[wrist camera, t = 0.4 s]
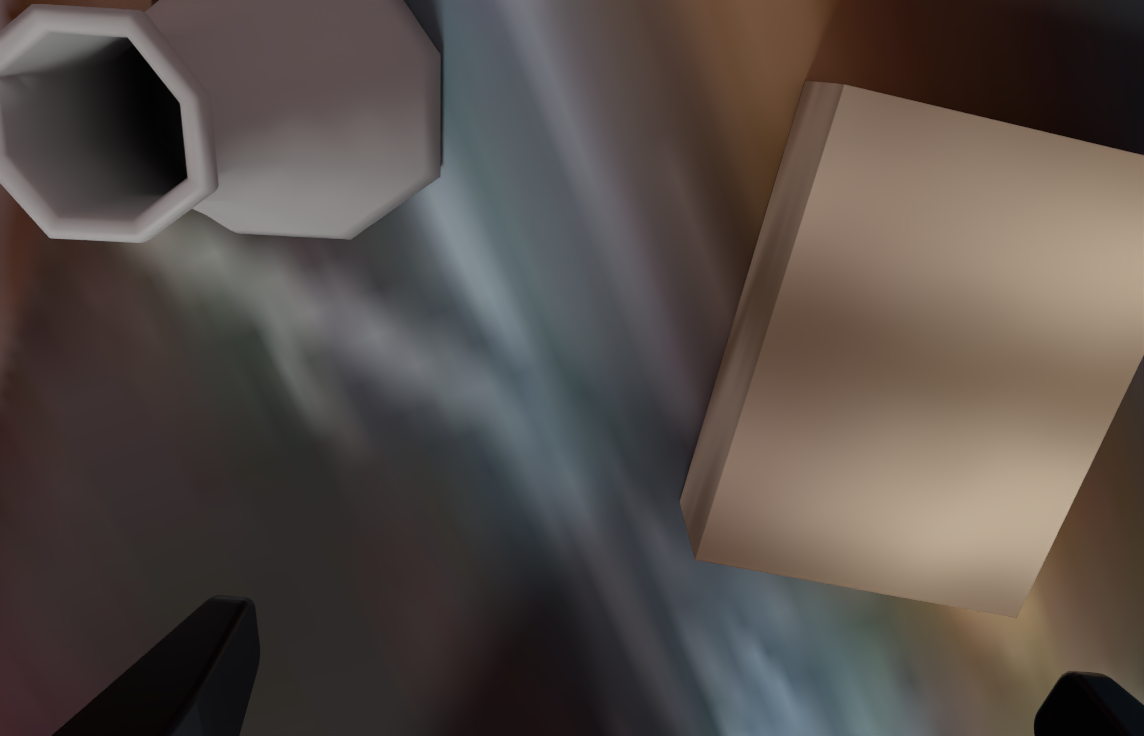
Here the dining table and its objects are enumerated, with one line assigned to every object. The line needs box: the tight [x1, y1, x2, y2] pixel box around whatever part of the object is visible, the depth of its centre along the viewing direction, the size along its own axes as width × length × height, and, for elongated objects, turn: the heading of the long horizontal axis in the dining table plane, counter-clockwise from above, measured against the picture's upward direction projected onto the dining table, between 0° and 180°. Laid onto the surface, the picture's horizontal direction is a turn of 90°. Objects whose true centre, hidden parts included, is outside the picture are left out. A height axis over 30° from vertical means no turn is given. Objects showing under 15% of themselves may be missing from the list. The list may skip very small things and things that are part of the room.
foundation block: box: [680, 80, 1144, 618], centre depth 22 cm, size 12×9×3 cm
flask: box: [0, 0, 441, 243], centre depth 16 cm, size 7×7×10 cm
